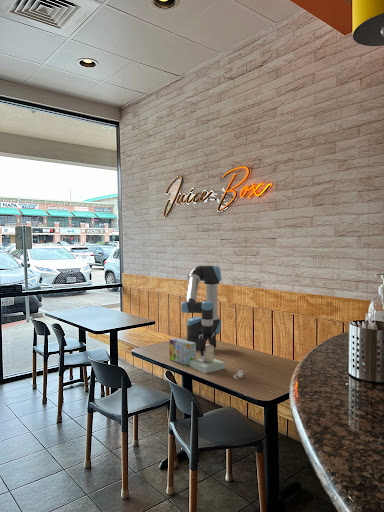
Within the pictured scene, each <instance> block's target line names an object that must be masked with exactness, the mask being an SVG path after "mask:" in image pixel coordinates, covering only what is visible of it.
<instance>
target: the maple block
mask: <svg viewBox="0 0 384 512" xmlns="http://www.w3.org/2000/svg"><path fill="white" fill-rule="evenodd" d="M204 351H205V362H210V361H214V359H215V349H214V346H213V345H210V344H209V343H206V345H205V349H204ZM200 359H201V360H202V356H201V355H200Z"/></svg>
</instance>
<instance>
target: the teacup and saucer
mask: <svg viewBox="0 0 384 512" xmlns="http://www.w3.org/2000/svg"><path fill="white" fill-rule="evenodd" d="M236 375H237V376H238V377H236ZM242 375H244V372H243V370H241V369H237V373H236V374H234V375H233V378H235V379H236V380H237V379H238V378H243V376H242ZM238 380H239V379H238Z"/></svg>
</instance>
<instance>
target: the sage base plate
mask: <svg viewBox="0 0 384 512" xmlns="http://www.w3.org/2000/svg"><path fill="white" fill-rule="evenodd" d="M190 368H192V369H195V370H196V371H199V372H200V373H203V374H208V373H212V372H217V371H219V370H223V369H225V362H224V361H221V360H219V359H216V358H214V361H210V362H205V361H202V360H201V358H198V359H197V358H196V360H192V361H191V366H190Z"/></svg>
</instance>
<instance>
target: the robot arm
mask: <svg viewBox="0 0 384 512" xmlns="http://www.w3.org/2000/svg"><path fill="white" fill-rule="evenodd" d="M221 281H222V274H221V268H220V266H218V265H197V266H195V267H193V268H192V269H191V270H190V272H189V273H188V275H187V282H188V283H187V288H186V296H185V301H181V308H180V309H181V312H182V313H184V314H201V316H194V317H190V318H187V320H186V338H185V339H186V341H190V342H194V343H196V351H200V357H201V356H202V361H205V351H204V349H205V345H206V344H207V341H208V344H210V345H213V346H214V350H215V349H216V348H217V335H220V334H221V327H222V319H220V316H219V314H218V313H219V312H218V286H219V284H220V282H221ZM200 282H204V285H205V286H206V287H205V290H206V291H205V292H206V293H205V295H206V298H205V300H204V301H197V299H198V289H199V284H200Z"/></svg>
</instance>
